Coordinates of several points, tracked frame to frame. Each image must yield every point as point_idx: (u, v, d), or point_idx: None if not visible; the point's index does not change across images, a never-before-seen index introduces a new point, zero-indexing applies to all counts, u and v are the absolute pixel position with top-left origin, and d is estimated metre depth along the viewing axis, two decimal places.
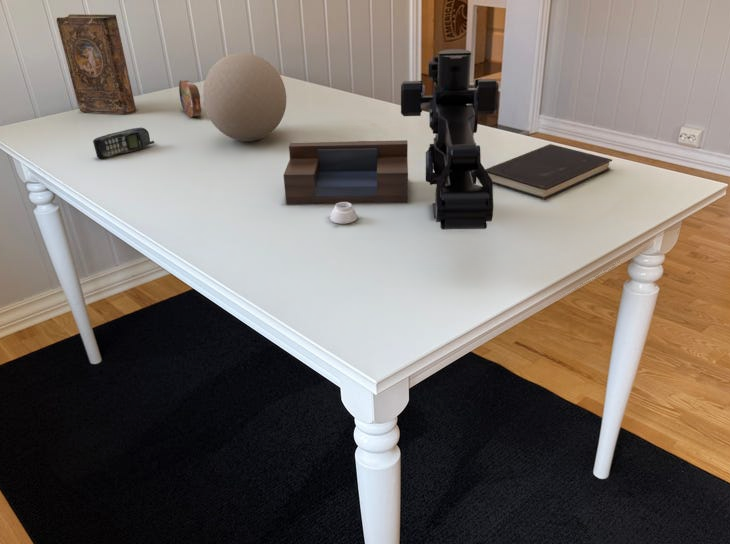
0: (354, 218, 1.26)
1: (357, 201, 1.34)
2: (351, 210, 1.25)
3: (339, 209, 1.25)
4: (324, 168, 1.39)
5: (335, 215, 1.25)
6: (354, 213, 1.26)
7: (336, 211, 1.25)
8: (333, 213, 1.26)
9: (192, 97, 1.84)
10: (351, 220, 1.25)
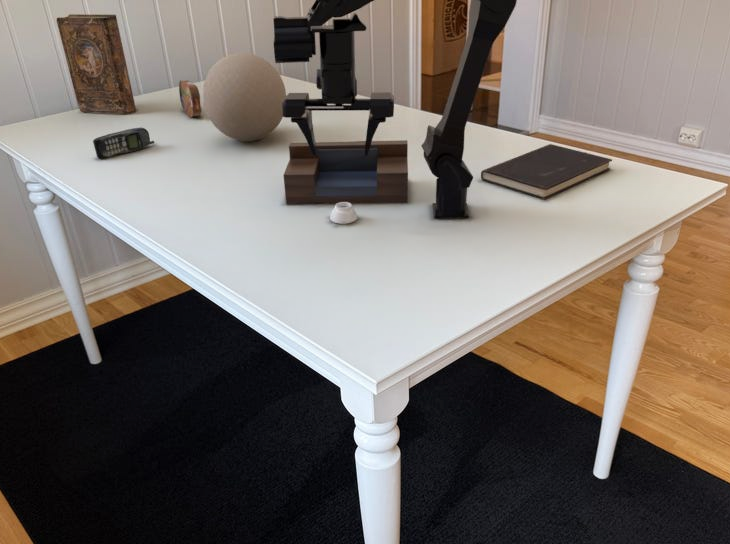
0: (354, 218, 1.26)
1: (357, 201, 1.34)
2: (351, 210, 1.25)
3: (339, 209, 1.25)
4: (324, 168, 1.39)
5: (335, 215, 1.25)
6: (354, 213, 1.26)
7: (336, 211, 1.25)
8: (333, 213, 1.26)
9: (192, 97, 1.84)
10: (351, 220, 1.25)
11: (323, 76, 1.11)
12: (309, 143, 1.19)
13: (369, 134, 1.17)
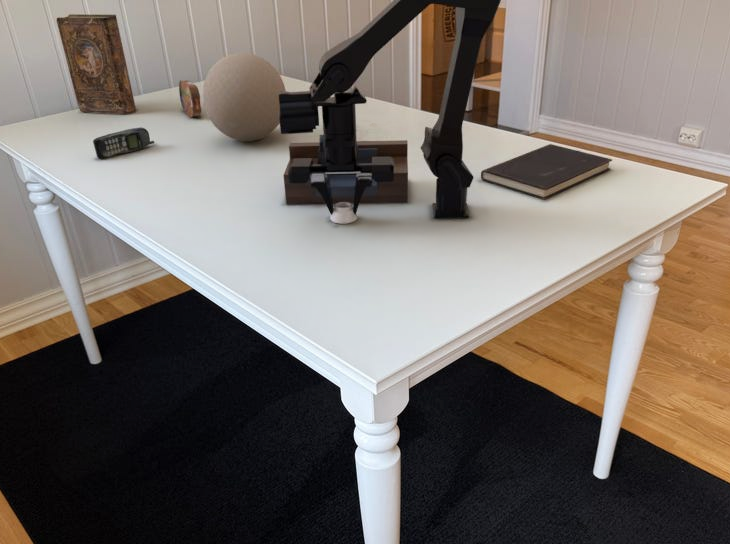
0: (354, 218, 1.26)
1: None
2: (351, 210, 1.25)
3: (339, 209, 1.25)
4: None
5: (335, 215, 1.25)
6: None
7: (336, 211, 1.25)
8: (333, 213, 1.26)
9: (192, 97, 1.84)
10: (351, 220, 1.25)
11: (326, 145, 1.17)
12: (328, 205, 1.24)
13: (357, 197, 1.23)
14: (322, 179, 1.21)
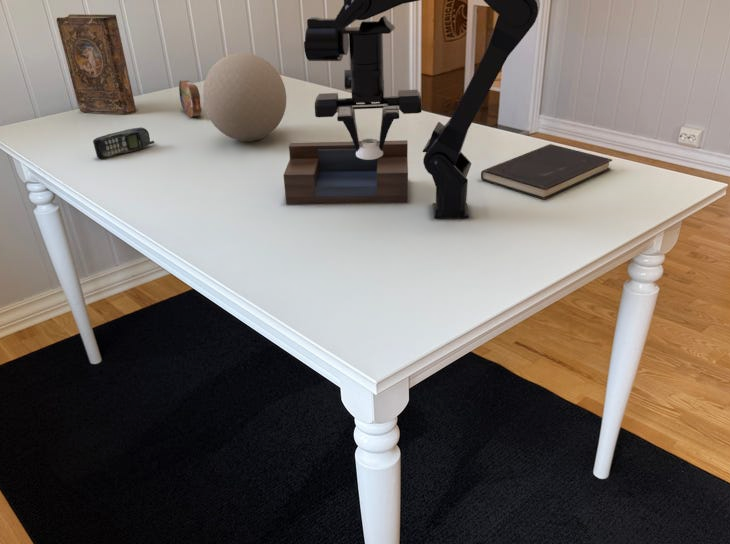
0: (380, 154, 1.25)
1: (357, 201, 1.34)
2: (377, 146, 1.25)
3: (365, 145, 1.24)
4: (324, 168, 1.39)
5: (361, 151, 1.24)
6: None
7: (362, 147, 1.24)
8: (359, 149, 1.25)
9: (192, 97, 1.84)
10: (377, 156, 1.25)
11: (354, 76, 1.16)
12: (354, 140, 1.24)
13: (384, 131, 1.22)
14: (349, 112, 1.20)
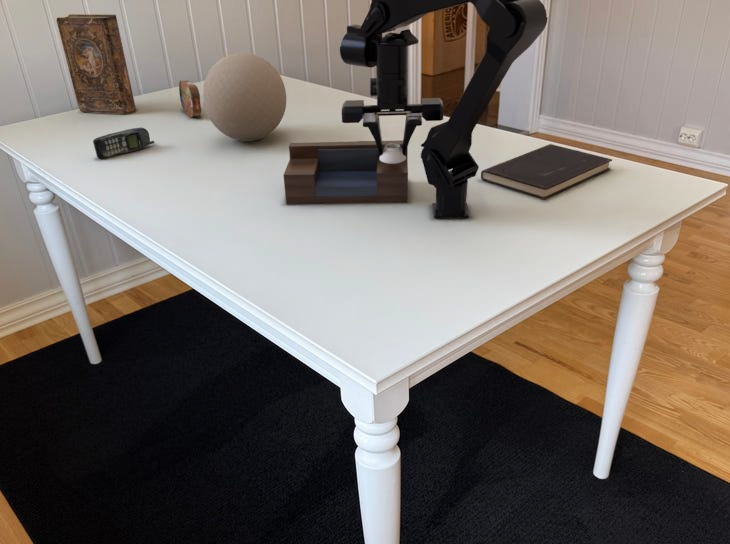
0: (403, 158, 1.31)
1: (357, 201, 1.34)
2: (400, 151, 1.31)
3: (389, 149, 1.30)
4: (324, 168, 1.39)
5: (385, 155, 1.31)
6: None
7: (386, 152, 1.30)
8: (383, 154, 1.31)
9: (192, 97, 1.84)
10: (400, 160, 1.31)
11: (380, 85, 1.22)
12: (378, 145, 1.30)
13: (407, 137, 1.28)
14: (374, 119, 1.26)
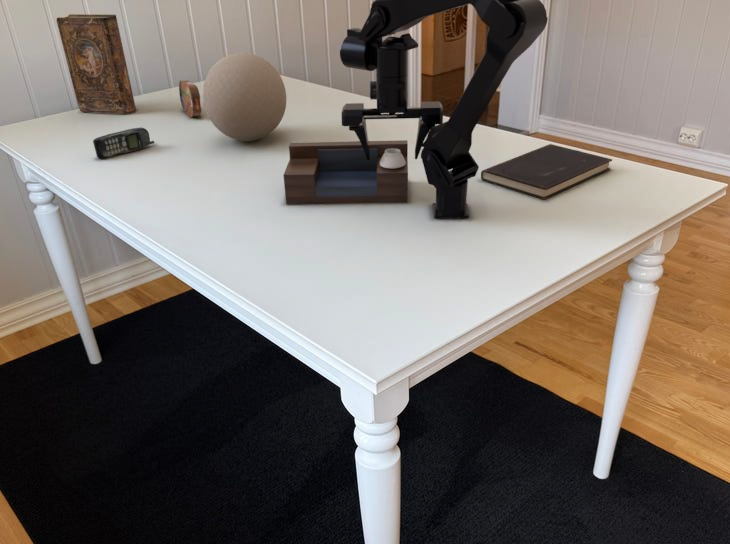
0: (403, 163, 1.31)
1: (357, 201, 1.34)
2: (400, 156, 1.31)
3: (389, 154, 1.31)
4: (324, 168, 1.39)
5: (385, 160, 1.31)
6: (403, 159, 1.32)
7: (386, 157, 1.31)
8: (383, 159, 1.32)
9: (192, 97, 1.84)
10: (400, 165, 1.31)
11: (380, 88, 1.22)
12: (364, 149, 1.30)
13: (420, 140, 1.28)
14: (360, 122, 1.27)
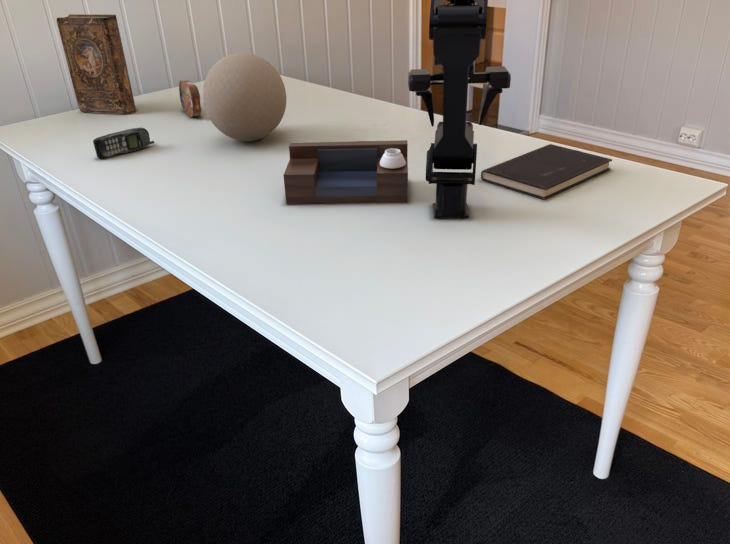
0: (403, 163, 1.31)
1: (357, 201, 1.34)
2: (400, 156, 1.31)
3: (389, 154, 1.31)
4: (324, 168, 1.39)
5: (385, 160, 1.31)
6: (403, 159, 1.32)
7: (386, 157, 1.31)
8: (383, 159, 1.32)
9: (192, 97, 1.84)
10: (400, 165, 1.31)
11: None
12: (430, 115, 1.31)
13: (486, 105, 1.29)
14: None
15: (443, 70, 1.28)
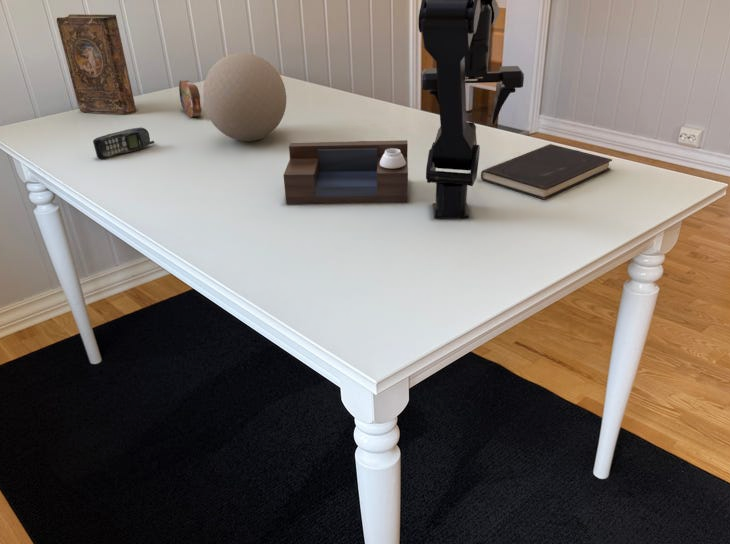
0: (403, 163, 1.31)
1: (357, 201, 1.34)
2: (400, 156, 1.31)
3: (389, 154, 1.31)
4: (324, 168, 1.39)
5: (385, 160, 1.31)
6: (403, 159, 1.32)
7: (386, 157, 1.31)
8: (383, 159, 1.32)
9: (192, 97, 1.84)
10: (400, 165, 1.31)
11: None
12: None
13: (499, 104, 1.29)
14: None
15: None
